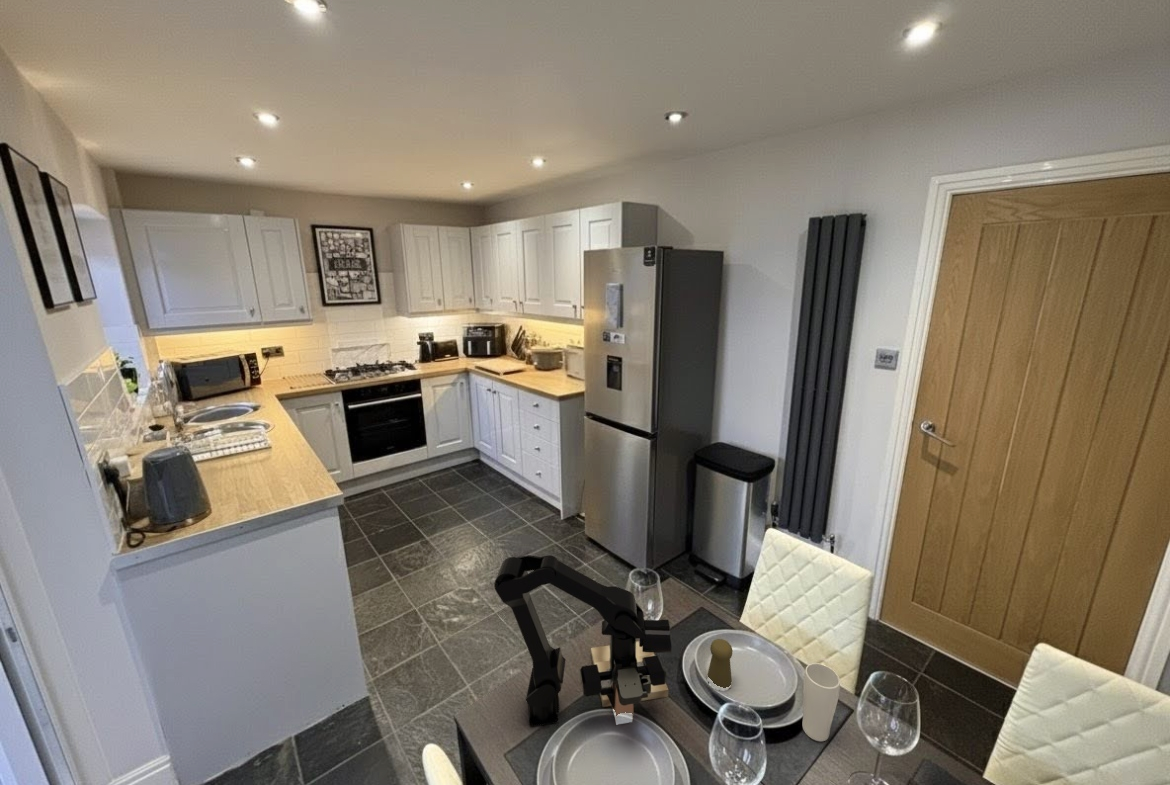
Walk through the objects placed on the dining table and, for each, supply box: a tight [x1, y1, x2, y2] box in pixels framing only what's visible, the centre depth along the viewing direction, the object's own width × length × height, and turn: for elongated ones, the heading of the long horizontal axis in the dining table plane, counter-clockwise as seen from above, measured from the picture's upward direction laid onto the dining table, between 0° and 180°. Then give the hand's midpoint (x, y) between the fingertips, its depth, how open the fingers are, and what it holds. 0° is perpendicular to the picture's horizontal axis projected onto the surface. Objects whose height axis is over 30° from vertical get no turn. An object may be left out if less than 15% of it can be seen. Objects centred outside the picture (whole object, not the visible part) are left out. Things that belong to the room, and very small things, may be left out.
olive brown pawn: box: [707, 638, 733, 688], centre depth 113 cm, size 6×6×11 cm
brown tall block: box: [612, 683, 634, 716], centre depth 105 cm, size 4×4×10 cm
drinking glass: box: [802, 662, 841, 742], centre depth 100 cm, size 7×7×15 cm
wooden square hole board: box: [590, 640, 669, 708], centre depth 117 cm, size 16×16×2 cm
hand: (622, 705), depth 105 cm, fingers closed on brown tall block, 4 cm apart
